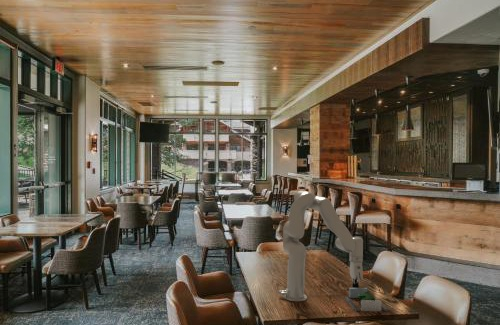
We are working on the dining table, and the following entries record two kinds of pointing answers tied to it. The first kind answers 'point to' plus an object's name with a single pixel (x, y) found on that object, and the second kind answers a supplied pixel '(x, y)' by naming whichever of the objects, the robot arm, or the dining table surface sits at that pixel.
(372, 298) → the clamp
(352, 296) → the block
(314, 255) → the dining table surface
